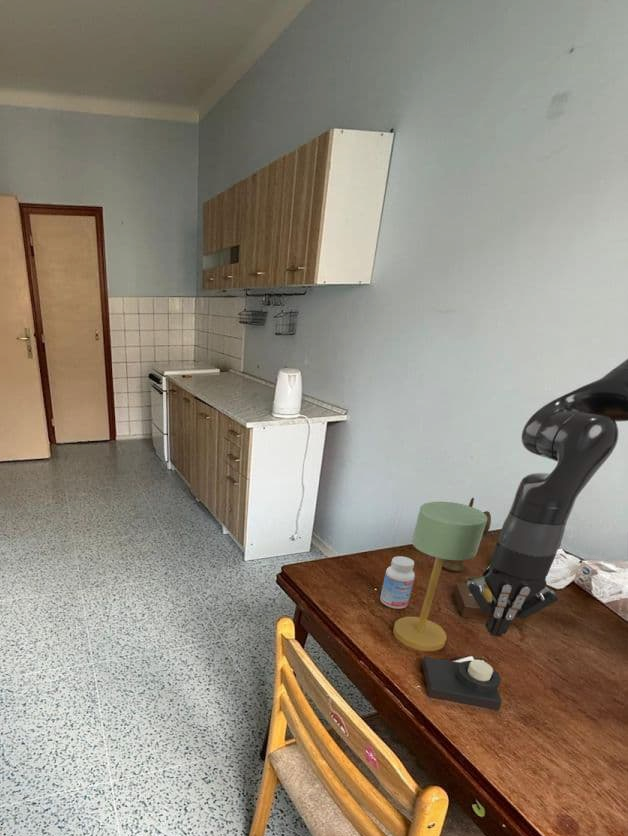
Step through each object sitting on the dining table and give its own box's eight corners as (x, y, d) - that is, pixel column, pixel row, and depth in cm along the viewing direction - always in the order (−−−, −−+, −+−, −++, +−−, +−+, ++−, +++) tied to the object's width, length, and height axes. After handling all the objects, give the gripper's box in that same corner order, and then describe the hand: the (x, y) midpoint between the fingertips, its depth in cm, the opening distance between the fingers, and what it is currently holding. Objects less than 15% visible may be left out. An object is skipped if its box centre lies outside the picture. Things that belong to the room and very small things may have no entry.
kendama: (475, 576, 120) (498, 504, 111) (433, 571, 123) (453, 500, 114) (470, 565, 125) (492, 495, 116) (430, 560, 128) (449, 491, 119)
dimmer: (509, 600, 111) (514, 589, 109) (523, 625, 102) (527, 614, 101) (453, 593, 114) (456, 582, 112) (461, 616, 106) (465, 605, 104)
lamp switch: (487, 669, 85) (490, 662, 85) (492, 683, 82) (495, 675, 82) (465, 665, 86) (467, 658, 86) (469, 679, 83) (472, 671, 83)
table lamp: (442, 625, 103) (479, 504, 90) (452, 657, 94) (494, 528, 80) (388, 617, 106) (416, 499, 93) (392, 647, 97) (424, 521, 83)
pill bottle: (393, 612, 108) (404, 570, 102) (374, 599, 112) (382, 557, 107) (413, 605, 110) (424, 564, 104) (393, 593, 115) (402, 552, 109)
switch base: (487, 676, 89) (493, 660, 87) (500, 711, 81) (507, 694, 80) (422, 665, 92) (426, 649, 90) (428, 697, 85) (434, 681, 83)
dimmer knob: (474, 592, 109) (482, 571, 106) (493, 592, 109) (501, 570, 106) (486, 603, 105) (494, 581, 102) (505, 602, 105) (514, 580, 102)
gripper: (569, 537, 73) (531, 626, 81) (473, 527, 77) (446, 614, 85) (590, 559, 67) (547, 654, 75) (484, 548, 71) (454, 639, 79)
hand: (493, 633), depth 80 cm, fingers closed
